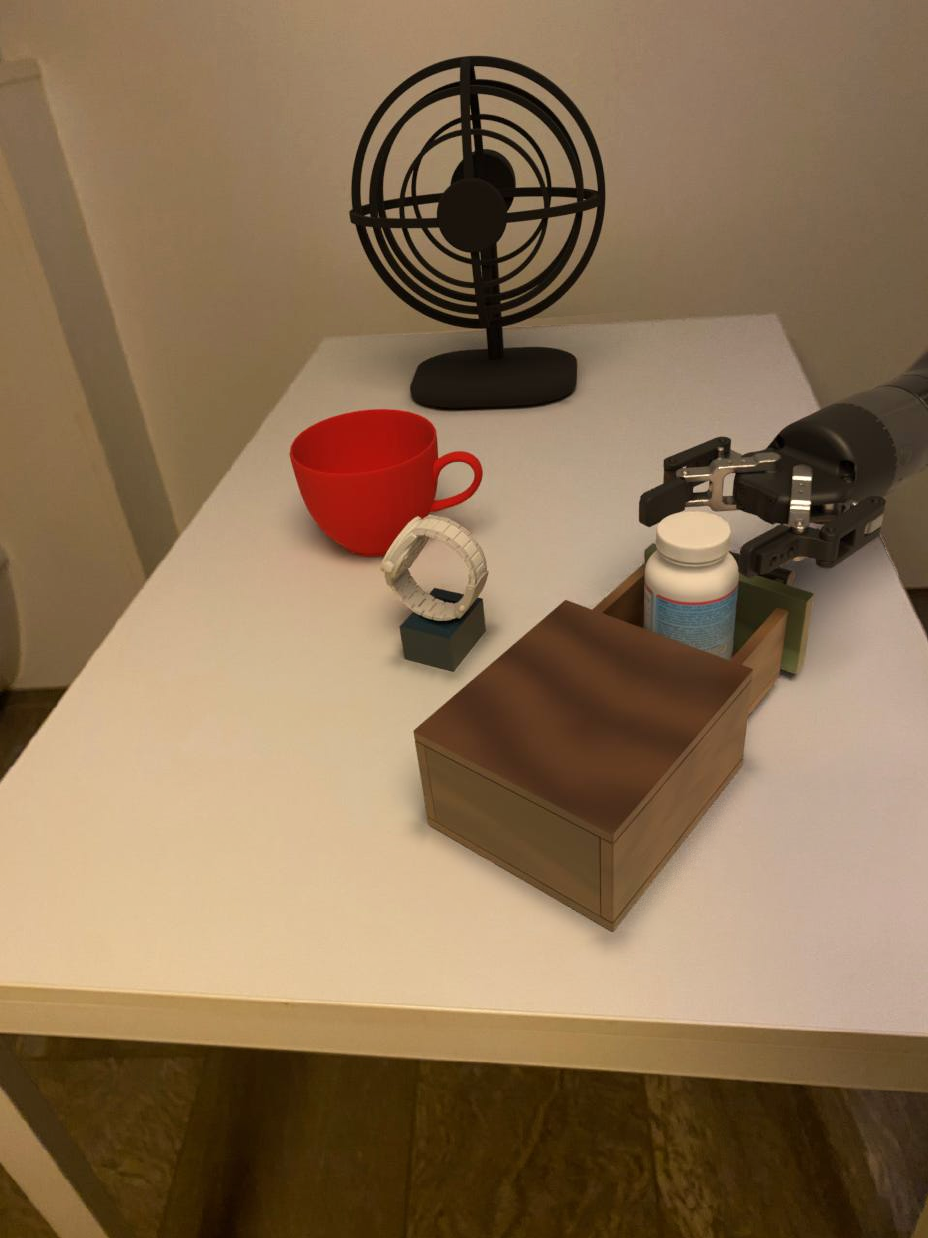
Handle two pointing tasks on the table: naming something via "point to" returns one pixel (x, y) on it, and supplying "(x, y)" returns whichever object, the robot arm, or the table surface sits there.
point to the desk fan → (481, 238)
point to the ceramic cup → (373, 475)
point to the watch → (437, 595)
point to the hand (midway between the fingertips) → (690, 536)
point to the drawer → (742, 621)
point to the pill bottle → (693, 583)
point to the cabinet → (585, 756)
